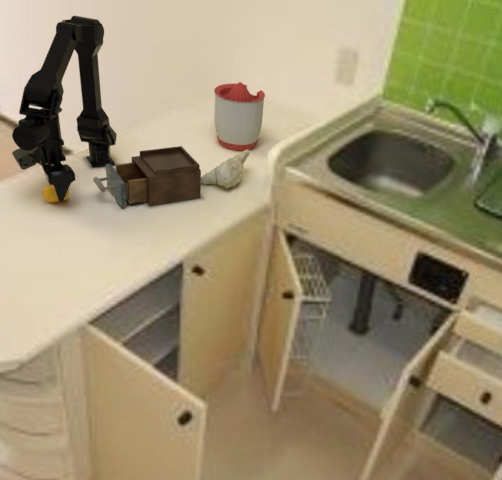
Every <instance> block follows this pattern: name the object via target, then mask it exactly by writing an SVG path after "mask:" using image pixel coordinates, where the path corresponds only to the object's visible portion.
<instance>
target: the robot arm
mask: <svg viewBox="0 0 502 480" xmlns="http://www.w3.org/2000/svg"><path fill="white" fill-rule="evenodd" d="M104 38H105V27H104V26H103V24H102V23H101V22H100V20H99V19H97V18H91V17H86V16H81V15H72V16H71V18H70V19H62V21H59V22H57V23H56V25H55V34H54V37H53V39H52V42H51V44H50V46H49V48H48V51H47V52H46V53H47V54H46V56H45V58H44V61H43V62H42V65H41V68H40V69H39V70H37V71H36V72H34V73H33V74H31V75H30V77H29V79H28V80H27V82H26V84H25V86H24V88H23V92H22V97H21V102H20V106H19V111H18V114H19V115H21V116H25V117H23V118H21V119H19V120H18V125H17V126H16V127H15V128H14V129H13V130H12V134H11V137H12V140H13V142H14V144H15V145H16V146H17V147H18V148H16V149H15V150H12V152H11V155H12V157H13V158H14V160H15V162H16V163H17V164H18V167H19V168H20V169H21V170H23V171H24V170H28V169H29V168H31V167H33V166H35V165H37V164H39V165H40V166H41V168H42V170H43V173H44V176H45V180H46V182H47V183H48V185H53V186H54V189H55V192H56V195H57V198H58V200H59V201H60V202H64V201H65V200H64V198H65V196H66V193H67V191H68V190H70V189H69V188H70V187H71V185H72V183H73V182H75V181H76V172H75V171H74V169H72V167H71V166H70V165H69V164H67V163H65V164H63V163H62V162H66V161H67V157H66V155H65V154H64V147H63V146H65V141H64V139H63V138H62V131H61V124H60V123H61V122H60V113H61V112H63V107H61V105H62V102H63V96H64V93H65V90H64V87H63V79H64V77H65V73H66V72H67V69H68V66H69V64H70V61H71V59H72V57H73V55H74V51H75V52H76V55H77V60H78V71H79V80H80V91H81V101H82V110H81V112H80V114H79V115H78V116H77V117H76V119H75V120H76V124H77V125H76V131H77V133H78V136H79V140H80V142H82V143H88V155H87V156H85V159H86V160H87V162H88V163H89V165H90V167H92V168H99V167H106V164H111V166H113V165H116V163H115V161H114V159H113V158H112V157H111V146H115V145H116V143H117V139H118V137H117V132H116V131H115V130H114V129H113V128H112V126H111V124H110V123H111V122H110V118H109V116H108V114H107V113H106V112H105V110H104V108H103V106H102V105H103V104H102V96H101V95H102V93H101V81H100V69H99V68H100V67H99V52H100V50H101V48H102V47H103V45H104ZM34 107H35V108H34ZM63 200H64V201H63Z"/></svg>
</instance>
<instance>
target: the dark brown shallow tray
mask: <svg viewBox="0 0 502 480" xmlns="http://www.w3.org/2000/svg"><path fill="white" fill-rule="evenodd" d="M139 156H140V157H141V158H142V159H143V160H144V162H145V163H146V164H147V165H148V166H149V168H150V169H151V170H152V171H153V172H154V173H155V175H156V176H160V175H167V174H174V173H181V172H188V171H195V170H199V169H200V164H199V162H198V161H196V160H195V158H193V156H192V155H191V154H190V153H189V152H188V151H187V150H186V149H185V148H184V147H183V146H182V145H178V146H171V147H162V148H154V149H145V150H139Z"/></svg>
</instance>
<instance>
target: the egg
mask: <svg viewBox="0 0 502 480" xmlns="http://www.w3.org/2000/svg"><path fill="white" fill-rule="evenodd" d="M42 197H43V199H44V200H45V201H47V202H48V203H58V202H60V203H61V201H59V200H58V198H57V195H56V192H55V189H54V186H53V185H49V184H48V185H46V186H45V187H44V188H43V189H42ZM69 197H70V189H68V191H67V193H66V196H65V198H64V200H63V201H62V202H65V201H66V200H67V199H68V198H69Z"/></svg>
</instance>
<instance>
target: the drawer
mask: <svg viewBox="0 0 502 480" xmlns="http://www.w3.org/2000/svg"><path fill="white" fill-rule="evenodd" d="M105 173H106V174H105V175H106V177H98V176H94V177H93V179H92V181H93V183H94V184H95V185H96V187H97V188H98V190H99V192H101V193H104V192H105V191H106V190H107V191H108V190H109V192H110V193H111V194H112V196H113V197H114V199H115V200H116V201H117V203H118V204H119V205H120V207H121V208H124V207H125V208H126V207H127V202H128V203H129V204H130V205H131V204H138V203H143V202H146V201H149V196H148V178H147V177H146V176H145V175H144V174H143V172H142V171H141V170H140V169H139V167H138V166H137V165H136V164H135V163H134V162H132V161H131V162H125V163H117V164H116V163H115V168H114V166H113V165H111V164H106V166H105ZM104 181H106V186H105V185H104V184H103V183H102V182H104Z"/></svg>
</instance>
